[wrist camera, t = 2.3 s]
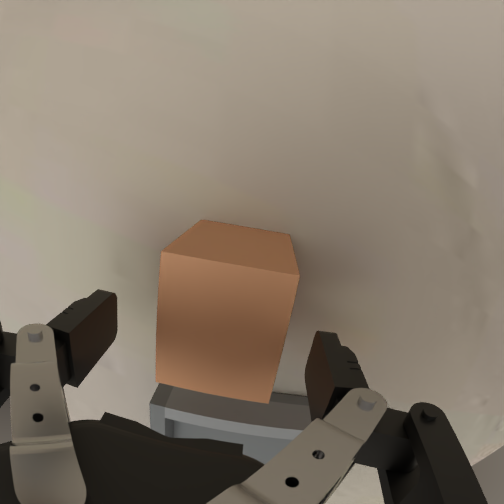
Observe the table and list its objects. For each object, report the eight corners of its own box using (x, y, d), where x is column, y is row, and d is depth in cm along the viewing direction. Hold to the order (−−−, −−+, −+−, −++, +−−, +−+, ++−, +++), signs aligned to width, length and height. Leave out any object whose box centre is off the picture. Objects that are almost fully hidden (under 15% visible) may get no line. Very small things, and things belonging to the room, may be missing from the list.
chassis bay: (357, 400, 21) (368, 433, 17) (312, 486, 24) (315, 514, 20) (164, 371, 21) (149, 403, 17) (165, 465, 24) (156, 493, 21)
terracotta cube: (289, 234, 18) (299, 275, 11) (270, 328, 20) (268, 403, 13) (201, 219, 18) (160, 251, 11) (190, 314, 20) (155, 381, 13)
